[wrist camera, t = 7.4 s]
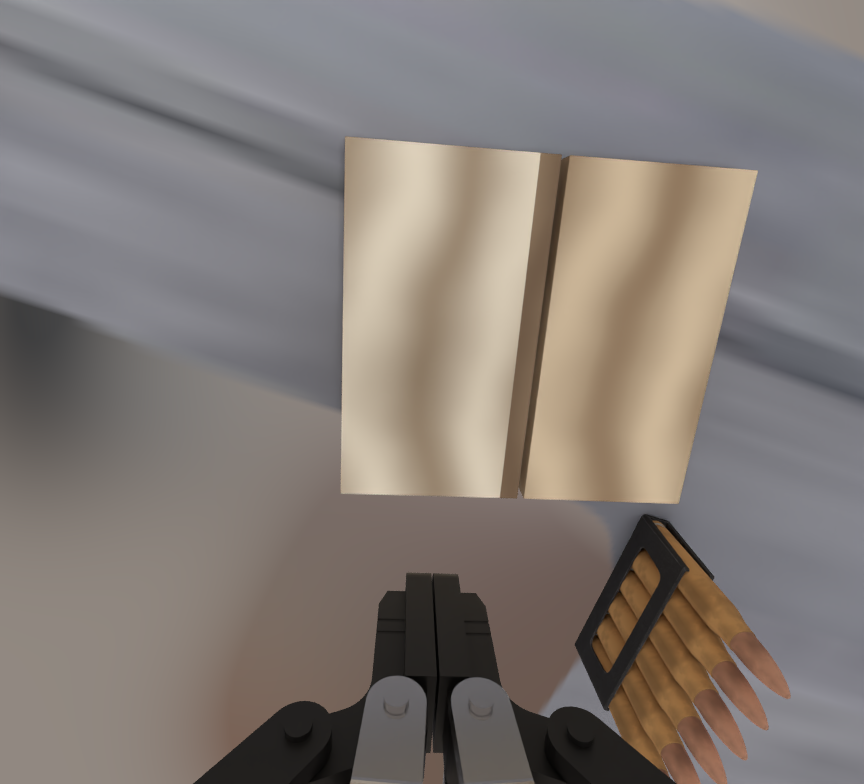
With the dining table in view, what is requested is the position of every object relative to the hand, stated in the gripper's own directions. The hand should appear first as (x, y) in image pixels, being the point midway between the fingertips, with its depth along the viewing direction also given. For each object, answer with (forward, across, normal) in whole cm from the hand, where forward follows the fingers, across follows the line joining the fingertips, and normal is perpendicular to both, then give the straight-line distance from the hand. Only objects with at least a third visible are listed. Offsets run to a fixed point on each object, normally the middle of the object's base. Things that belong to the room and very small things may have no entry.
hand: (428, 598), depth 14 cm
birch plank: (+15, -1, -5) cm, 15 cm away
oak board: (+15, -11, -5) cm, 19 cm away
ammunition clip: (+15, -14, +11) cm, 23 cm away
